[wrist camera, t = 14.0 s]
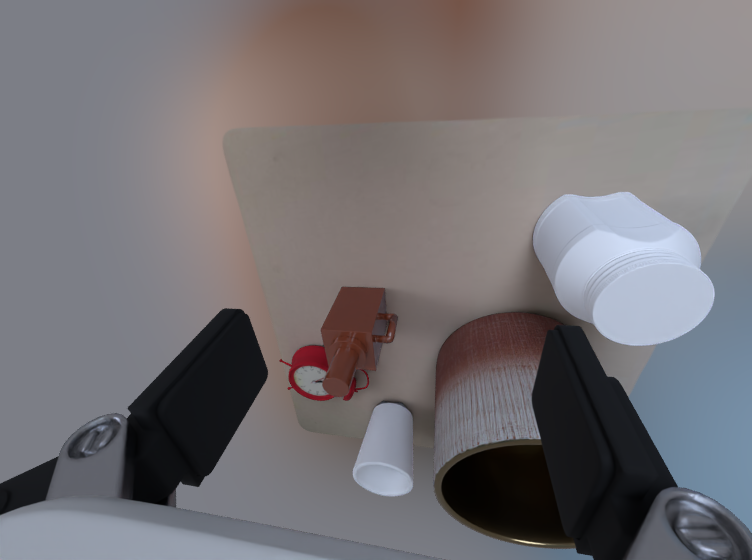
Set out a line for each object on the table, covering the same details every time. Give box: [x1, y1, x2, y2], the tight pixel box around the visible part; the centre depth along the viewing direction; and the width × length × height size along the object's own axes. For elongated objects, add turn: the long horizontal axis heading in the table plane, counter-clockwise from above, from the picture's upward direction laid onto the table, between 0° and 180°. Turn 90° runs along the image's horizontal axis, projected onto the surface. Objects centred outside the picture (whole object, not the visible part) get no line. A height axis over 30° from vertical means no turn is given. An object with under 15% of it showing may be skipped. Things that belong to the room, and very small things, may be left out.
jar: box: [533, 192, 715, 346], centre depth 33 cm, size 12×10×15 cm
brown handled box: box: [321, 287, 398, 397], centre depth 44 cm, size 7×9×16 cm
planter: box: [433, 312, 576, 549], centre depth 43 cm, size 22×22×20 cm
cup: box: [353, 401, 413, 496], centre depth 58 cm, size 10×10×13 cm
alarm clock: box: [280, 345, 369, 401], centre depth 58 cm, size 10×6×15 cm
